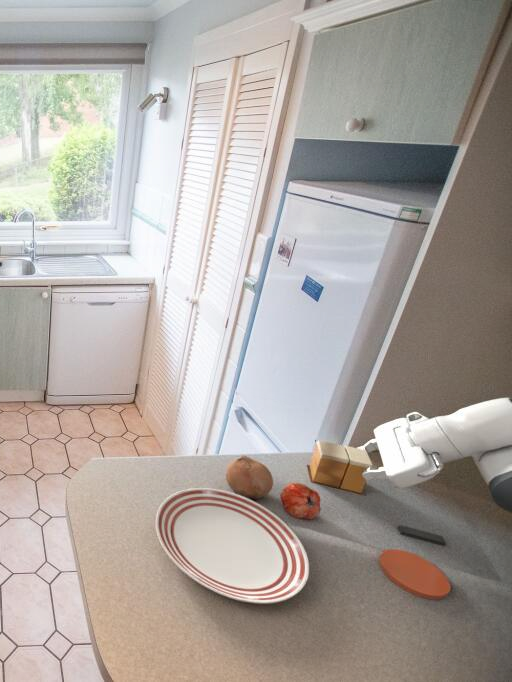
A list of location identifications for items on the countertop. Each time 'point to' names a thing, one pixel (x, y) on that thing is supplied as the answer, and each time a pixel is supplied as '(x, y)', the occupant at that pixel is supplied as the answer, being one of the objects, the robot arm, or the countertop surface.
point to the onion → (249, 478)
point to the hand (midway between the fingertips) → (360, 463)
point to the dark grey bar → (421, 535)
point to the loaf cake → (329, 465)
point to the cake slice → (355, 469)
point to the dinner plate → (232, 545)
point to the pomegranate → (300, 501)
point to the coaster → (414, 574)
